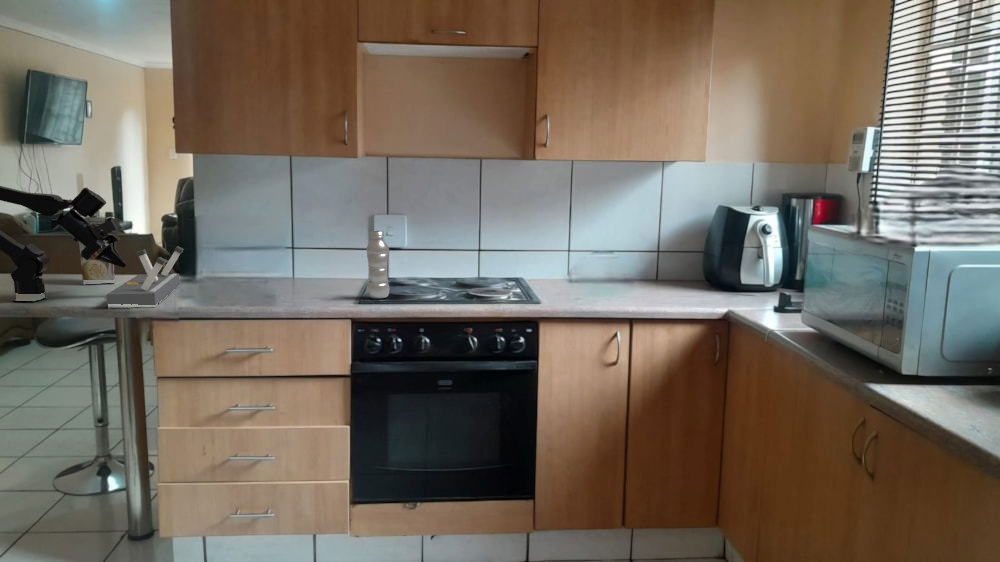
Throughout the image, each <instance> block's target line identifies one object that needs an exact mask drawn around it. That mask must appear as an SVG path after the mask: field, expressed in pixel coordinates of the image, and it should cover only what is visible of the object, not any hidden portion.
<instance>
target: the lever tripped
mask: <svg viewBox="0 0 1000 562" xmlns="http://www.w3.org/2000/svg"><path fill="white" fill-rule="evenodd" d="M135 253H136V257H138V258H139V260H140V262H141V264H142V267H143V268H144V270H145V273H146V275H149V273H150V272H151V270H152V268H153V267H154V266H153V265H152V262H151V261H150V259H149V256H148V253H147V250H146V248H145V249H141V250H139V251H137V252H135ZM157 280H158V277H157V276H156V277H155V279H154V281H153V282H155V281H157Z"/></svg>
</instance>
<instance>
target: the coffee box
mask: <svg viewBox="0 0 1000 562" xmlns="http://www.w3.org/2000/svg"><path fill="white" fill-rule="evenodd" d="M107 234H108V235H109V234H112V232H110V233H107ZM78 245H79V246H78V249H79V256H80V266H81V277H82V281H83V280H114V279H115V280H116V275H115V265H114V264H111V263H108V262H104V261H101V260H96V259H95V258H96V257H97V256H98V254H96V253H97V252H95V253H94V254H93V255H92V256H91V259H90V260H86V259H84V258H83V257H82V256H81V251H82V250H83V249H84V248H85V246H84V245H83V244H81V243H80V242H79V241H78Z"/></svg>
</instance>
